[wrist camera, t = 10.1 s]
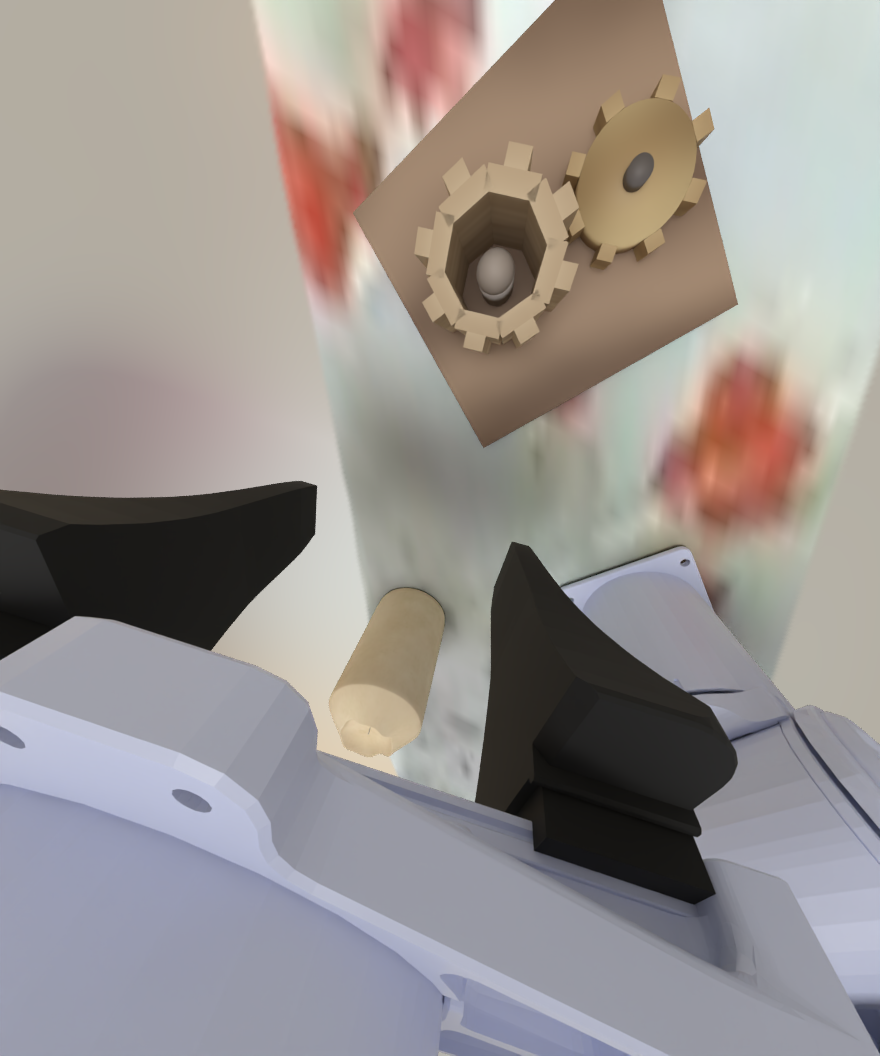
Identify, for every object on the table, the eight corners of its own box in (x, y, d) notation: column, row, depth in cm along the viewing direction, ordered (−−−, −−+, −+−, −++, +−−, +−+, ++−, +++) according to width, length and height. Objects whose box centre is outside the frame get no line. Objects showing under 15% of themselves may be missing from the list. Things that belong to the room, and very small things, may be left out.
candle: (400, 574, 24) (341, 693, 16) (459, 613, 25) (435, 749, 16) (367, 615, 27) (300, 738, 18) (421, 650, 28) (382, 784, 19)
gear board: (723, 308, 14) (814, 285, 10) (484, 444, 19) (478, 467, 15) (629, -53, 11) (708, -319, 7) (361, 221, 15) (306, 168, 11)
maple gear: (577, 308, 15) (607, 286, 10) (476, 376, 17) (464, 381, 12) (525, 178, 13) (534, 86, 9) (419, 270, 15) (384, 232, 11)
